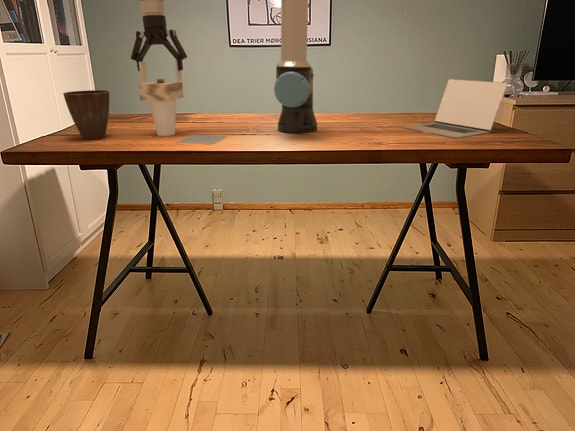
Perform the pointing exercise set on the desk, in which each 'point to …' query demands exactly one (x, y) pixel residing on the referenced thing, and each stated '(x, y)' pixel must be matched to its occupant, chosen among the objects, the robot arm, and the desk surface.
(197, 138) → the mat
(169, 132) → the foam cup
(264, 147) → the desk surface
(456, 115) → the laptop
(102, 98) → the plant pot
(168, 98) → the lid
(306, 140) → the desk surface
